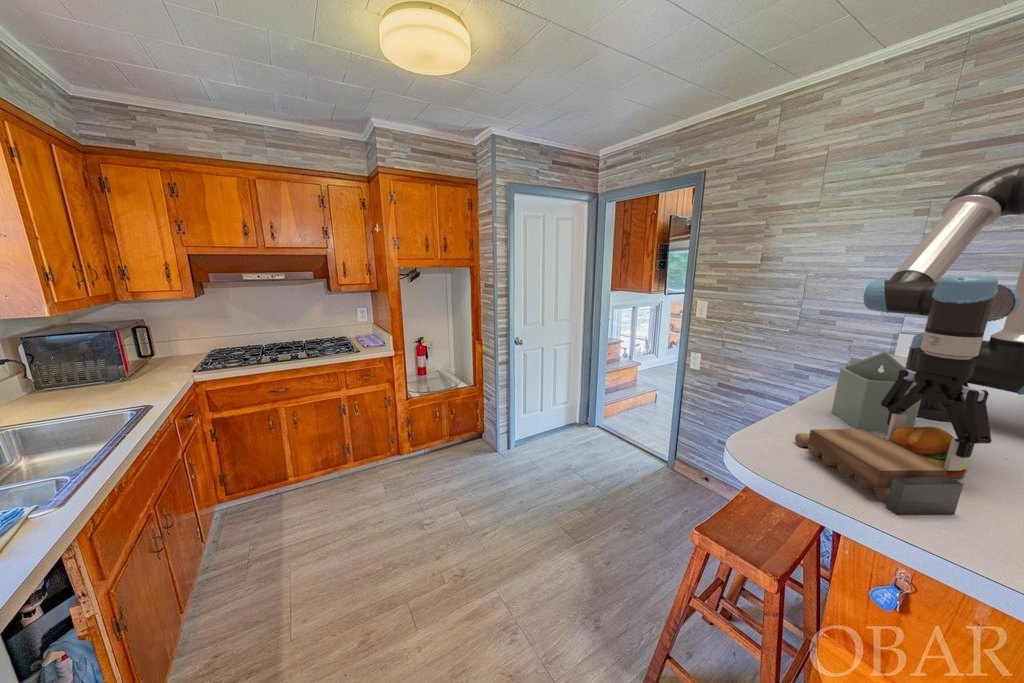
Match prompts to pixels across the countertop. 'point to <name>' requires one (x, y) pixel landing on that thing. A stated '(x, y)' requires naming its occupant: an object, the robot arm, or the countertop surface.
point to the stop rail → (924, 496)
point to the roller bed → (841, 467)
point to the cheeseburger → (927, 445)
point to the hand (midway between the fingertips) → (920, 454)
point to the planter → (869, 393)
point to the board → (872, 456)
